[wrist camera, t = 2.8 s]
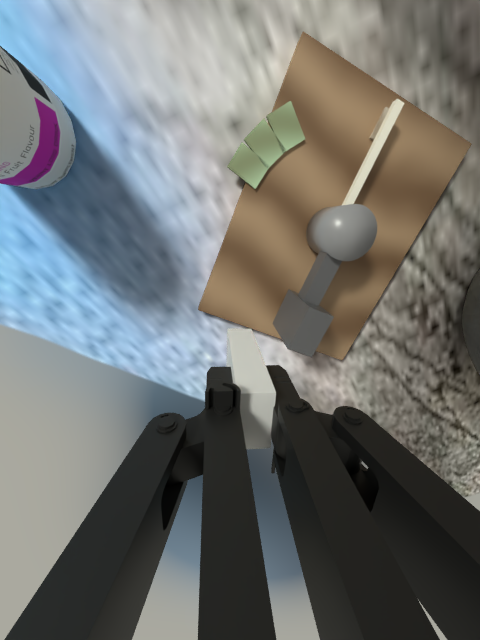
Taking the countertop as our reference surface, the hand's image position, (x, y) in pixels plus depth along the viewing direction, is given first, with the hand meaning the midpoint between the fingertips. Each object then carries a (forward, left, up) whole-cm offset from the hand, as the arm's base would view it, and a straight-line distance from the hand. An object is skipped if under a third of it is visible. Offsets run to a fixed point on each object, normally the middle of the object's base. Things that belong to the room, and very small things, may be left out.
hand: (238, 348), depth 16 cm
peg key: (-10, +7, -11) cm, 16 cm away
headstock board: (-10, +7, -13) cm, 17 cm away
